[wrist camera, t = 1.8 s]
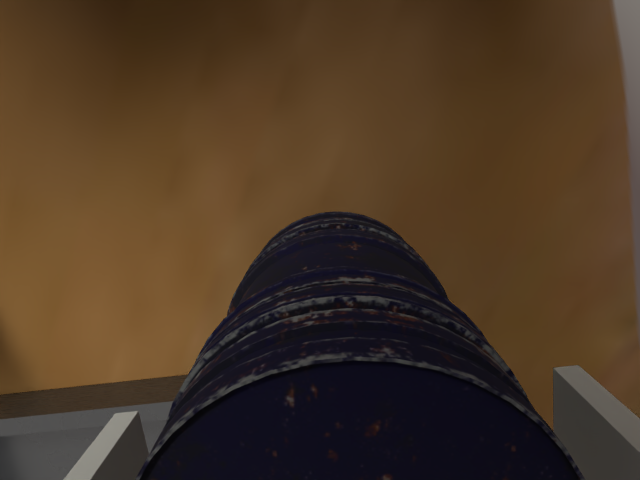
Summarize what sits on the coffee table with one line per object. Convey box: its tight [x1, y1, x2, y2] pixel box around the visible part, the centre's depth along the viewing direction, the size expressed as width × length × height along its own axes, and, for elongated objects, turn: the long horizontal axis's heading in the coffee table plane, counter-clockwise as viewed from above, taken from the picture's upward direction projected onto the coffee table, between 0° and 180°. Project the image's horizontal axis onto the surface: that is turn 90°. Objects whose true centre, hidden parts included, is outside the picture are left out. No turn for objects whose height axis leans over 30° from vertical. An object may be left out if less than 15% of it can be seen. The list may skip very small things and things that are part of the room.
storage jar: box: [135, 212, 585, 480], centre depth 16 cm, size 10×10×15 cm
